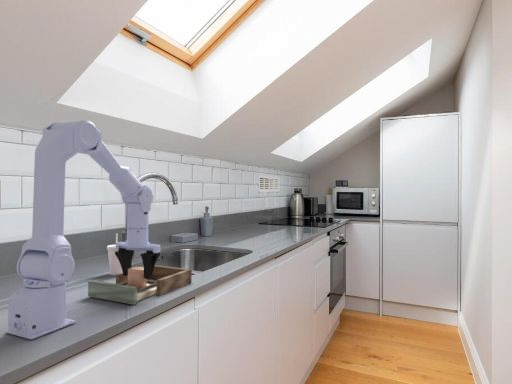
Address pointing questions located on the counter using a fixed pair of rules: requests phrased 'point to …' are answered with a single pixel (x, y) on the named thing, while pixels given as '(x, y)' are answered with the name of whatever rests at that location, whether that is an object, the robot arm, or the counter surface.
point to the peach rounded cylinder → (136, 277)
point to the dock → (165, 278)
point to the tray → (120, 291)
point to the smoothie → (114, 259)
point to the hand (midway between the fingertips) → (137, 276)
